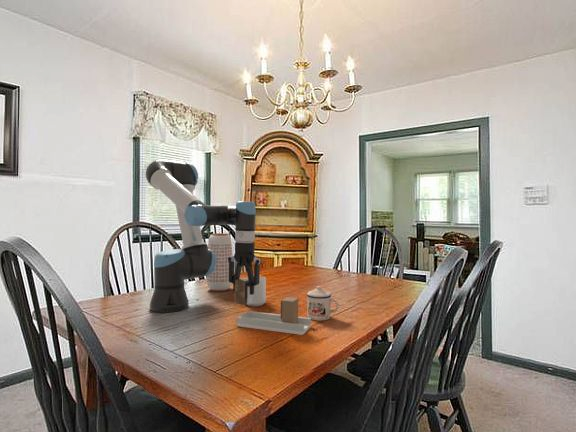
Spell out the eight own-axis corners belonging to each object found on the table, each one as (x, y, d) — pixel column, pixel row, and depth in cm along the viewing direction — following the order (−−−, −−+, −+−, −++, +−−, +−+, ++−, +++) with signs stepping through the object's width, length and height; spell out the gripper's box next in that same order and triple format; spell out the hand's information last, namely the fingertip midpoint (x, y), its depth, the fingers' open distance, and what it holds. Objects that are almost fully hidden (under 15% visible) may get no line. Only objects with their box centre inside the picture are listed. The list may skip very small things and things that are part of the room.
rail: (236, 326, 123) (237, 297, 123) (248, 319, 131) (248, 291, 131) (302, 334, 114) (303, 303, 114) (310, 326, 123) (310, 297, 122)
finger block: (234, 303, 136) (235, 280, 135) (241, 300, 140) (241, 277, 140) (245, 305, 134) (246, 281, 134) (251, 301, 139) (252, 279, 139)
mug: (259, 307, 147) (259, 280, 146) (240, 305, 150) (240, 279, 150) (272, 301, 157) (272, 276, 157) (254, 298, 161) (255, 274, 161)
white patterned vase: (230, 292, 173) (230, 234, 173) (203, 292, 173) (203, 234, 173) (235, 286, 187) (235, 233, 186) (209, 286, 187) (209, 232, 186)
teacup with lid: (303, 319, 131) (303, 287, 131) (310, 312, 139) (310, 283, 139) (335, 323, 127) (336, 290, 127) (340, 316, 135) (341, 285, 135)
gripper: (219, 241, 136) (218, 301, 137) (261, 244, 130) (259, 307, 131) (229, 239, 143) (228, 296, 144) (269, 242, 137) (268, 302, 138)
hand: (243, 301), depth 137 cm, fingers closed on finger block, 5 cm apart
